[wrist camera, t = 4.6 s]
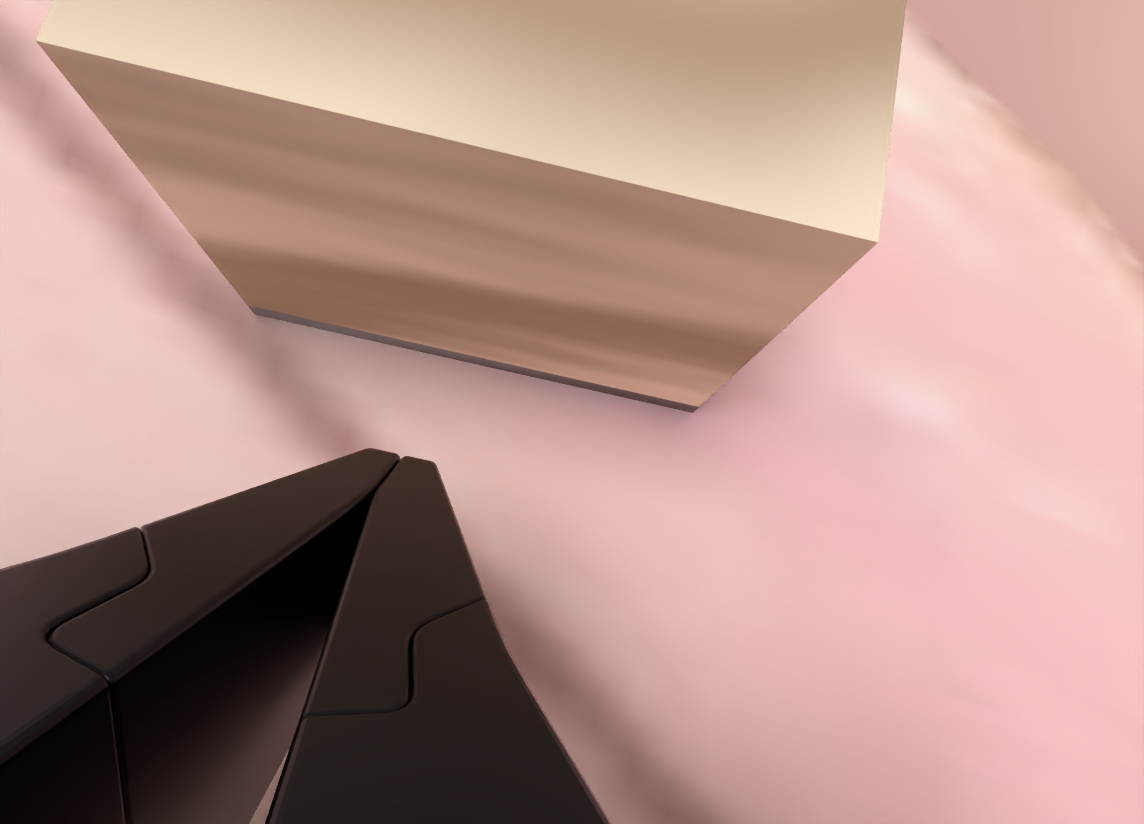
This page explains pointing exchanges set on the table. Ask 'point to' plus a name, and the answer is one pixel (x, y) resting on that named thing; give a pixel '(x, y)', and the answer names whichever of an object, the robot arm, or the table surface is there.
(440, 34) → the marked block
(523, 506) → the table surface
